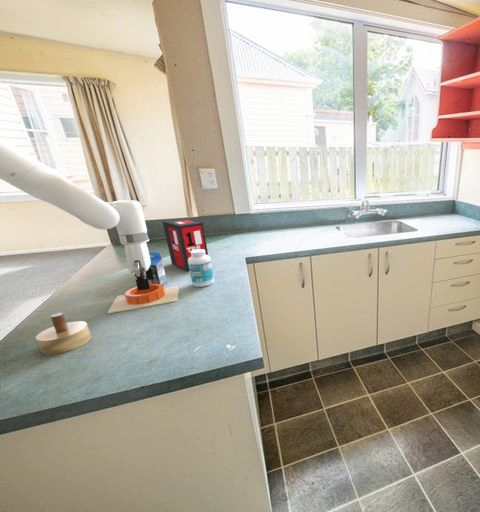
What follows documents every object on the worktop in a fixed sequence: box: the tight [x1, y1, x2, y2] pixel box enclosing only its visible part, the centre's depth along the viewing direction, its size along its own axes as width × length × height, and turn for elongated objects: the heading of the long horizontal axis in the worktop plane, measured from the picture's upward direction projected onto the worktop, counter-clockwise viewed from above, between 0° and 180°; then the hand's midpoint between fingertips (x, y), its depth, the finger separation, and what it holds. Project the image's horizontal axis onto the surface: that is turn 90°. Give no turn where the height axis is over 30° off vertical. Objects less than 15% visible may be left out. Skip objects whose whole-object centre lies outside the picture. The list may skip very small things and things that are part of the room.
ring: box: [124, 284, 165, 305], centre depth 102 cm, size 10×10×3 cm
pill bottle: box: [188, 249, 215, 288], centre depth 113 cm, size 8×7×14 cm
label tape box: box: [140, 252, 168, 286], centre depth 112 cm, size 9×4×12 cm, turn 90°
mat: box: [106, 285, 180, 315], centre depth 102 cm, size 18×14×1 cm
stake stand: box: [35, 312, 92, 356], centre depth 76 cm, size 9×9×8 cm
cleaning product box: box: [162, 217, 209, 272], centre depth 132 cm, size 16×9×20 cm, turn 56°
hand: (146, 284), depth 105 cm, fingers open, 9 cm apart
